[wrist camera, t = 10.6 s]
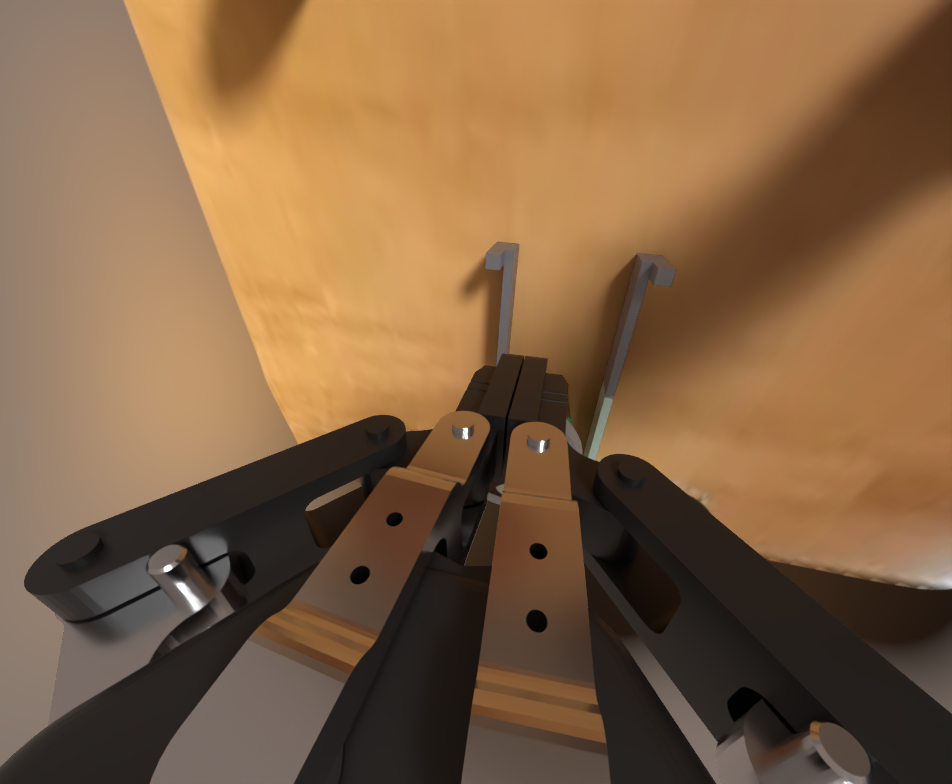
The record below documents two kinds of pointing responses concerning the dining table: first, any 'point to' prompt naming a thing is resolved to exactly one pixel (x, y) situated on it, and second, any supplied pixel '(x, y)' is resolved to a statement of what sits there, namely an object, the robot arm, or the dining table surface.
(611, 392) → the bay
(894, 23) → the dining table surface
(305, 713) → the robot arm
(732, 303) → the dining table surface
